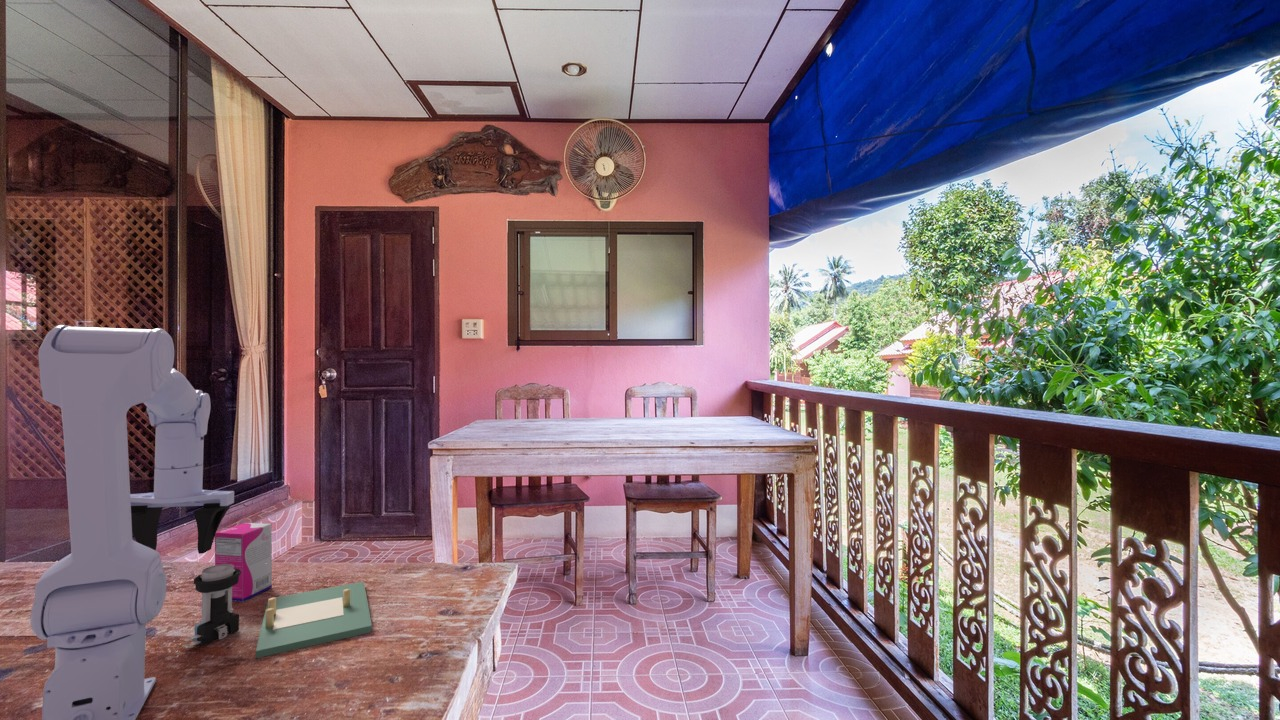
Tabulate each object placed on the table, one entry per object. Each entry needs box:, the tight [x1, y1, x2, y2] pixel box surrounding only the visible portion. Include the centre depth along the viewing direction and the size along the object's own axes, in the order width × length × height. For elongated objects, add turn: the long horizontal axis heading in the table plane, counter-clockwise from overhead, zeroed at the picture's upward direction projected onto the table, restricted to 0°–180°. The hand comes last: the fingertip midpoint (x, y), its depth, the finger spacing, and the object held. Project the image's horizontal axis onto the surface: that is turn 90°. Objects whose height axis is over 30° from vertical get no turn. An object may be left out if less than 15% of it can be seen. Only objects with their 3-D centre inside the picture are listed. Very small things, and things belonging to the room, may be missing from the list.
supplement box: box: [214, 522, 273, 603], centre depth 89 cm, size 6×6×12 cm
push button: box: [183, 564, 241, 649], centre depth 75 cm, size 7×5×10 cm
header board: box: [255, 581, 373, 659], centre depth 81 cm, size 18×14×4 cm
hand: (176, 552), depth 81 cm, fingers open, 7 cm apart
